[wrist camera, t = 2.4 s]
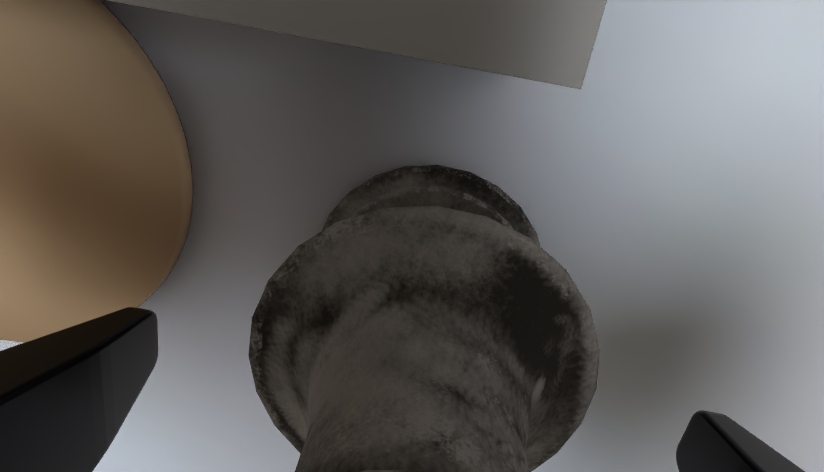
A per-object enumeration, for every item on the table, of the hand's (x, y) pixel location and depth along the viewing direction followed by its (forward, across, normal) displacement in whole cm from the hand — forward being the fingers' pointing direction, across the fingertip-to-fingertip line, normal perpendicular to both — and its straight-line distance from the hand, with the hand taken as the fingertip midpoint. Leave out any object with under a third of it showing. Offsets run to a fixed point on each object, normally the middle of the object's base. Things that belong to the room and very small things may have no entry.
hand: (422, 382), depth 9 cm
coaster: (+4, +10, -1) cm, 11 cm away
